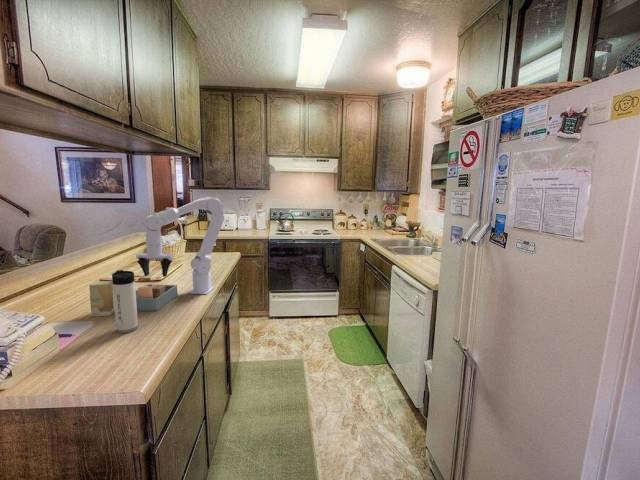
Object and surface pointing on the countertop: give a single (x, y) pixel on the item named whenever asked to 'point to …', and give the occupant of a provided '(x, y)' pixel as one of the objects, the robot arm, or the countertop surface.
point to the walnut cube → (158, 290)
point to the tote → (157, 303)
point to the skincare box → (101, 298)
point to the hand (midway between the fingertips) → (155, 275)
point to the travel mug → (125, 301)
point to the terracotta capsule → (145, 292)
